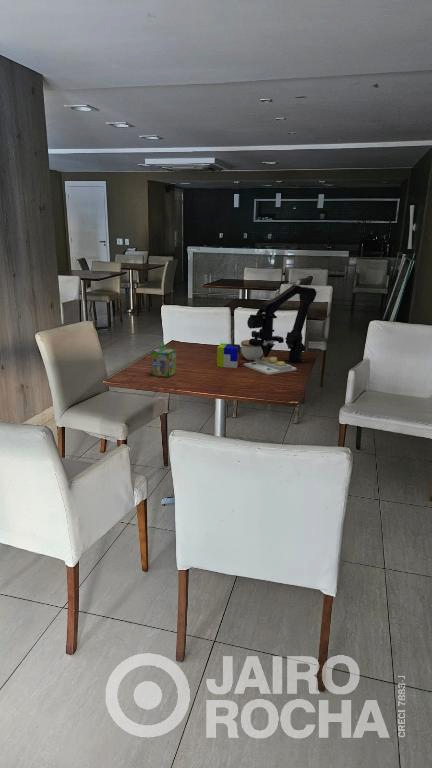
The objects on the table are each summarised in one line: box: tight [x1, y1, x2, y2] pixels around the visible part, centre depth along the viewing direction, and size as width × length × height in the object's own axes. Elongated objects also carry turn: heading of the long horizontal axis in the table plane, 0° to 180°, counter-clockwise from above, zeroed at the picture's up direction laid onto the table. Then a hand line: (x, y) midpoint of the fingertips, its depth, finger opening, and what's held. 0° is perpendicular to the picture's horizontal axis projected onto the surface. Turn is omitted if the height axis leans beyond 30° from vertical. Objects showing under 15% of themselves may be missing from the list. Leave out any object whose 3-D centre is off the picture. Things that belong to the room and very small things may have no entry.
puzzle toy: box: [216, 343, 241, 369], centre depth 253 cm, size 10×10×10 cm
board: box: [243, 357, 297, 376], centre depth 250 cm, size 18×20×3 cm
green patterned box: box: [150, 342, 177, 378], centre depth 233 cm, size 9×9×15 cm
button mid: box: [268, 356, 278, 364], centre depth 251 cm, size 4×4×3 cm
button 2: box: [277, 360, 286, 367], centre depth 246 cm, size 4×4×3 cm
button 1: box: [261, 355, 270, 361], centre depth 256 cm, size 4×4×3 cm
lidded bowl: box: [240, 337, 264, 361], centre depth 267 cm, size 13×13×11 cm
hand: (265, 357), depth 255 cm, fingers closed, pressing on button 1
